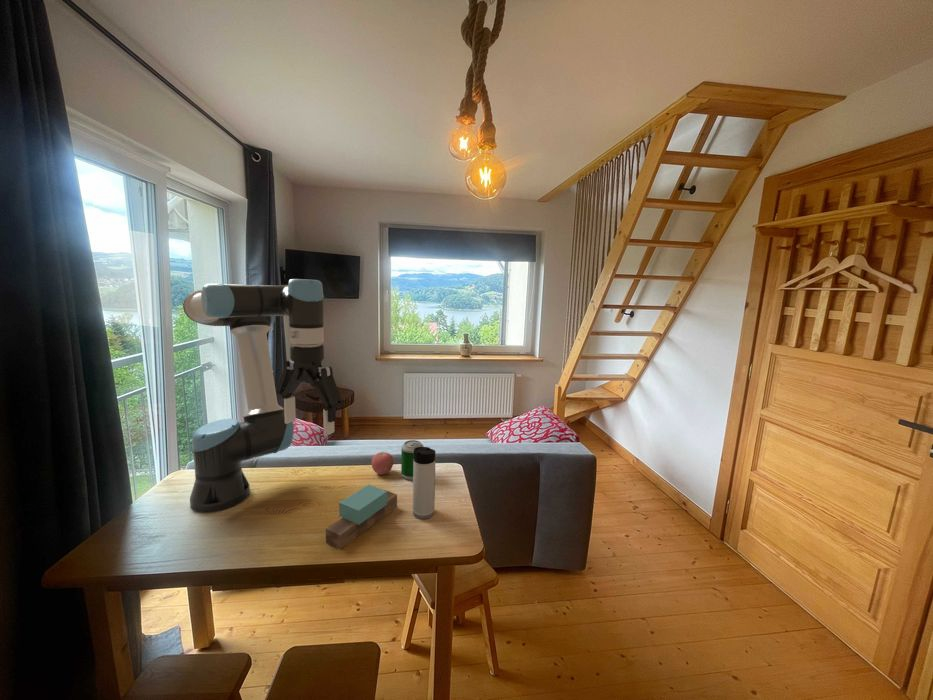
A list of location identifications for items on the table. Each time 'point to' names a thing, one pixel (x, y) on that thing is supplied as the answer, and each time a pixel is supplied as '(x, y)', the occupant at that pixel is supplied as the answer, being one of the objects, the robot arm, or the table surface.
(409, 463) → the soda can
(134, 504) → the table surface
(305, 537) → the table surface
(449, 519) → the table surface
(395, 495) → the rail
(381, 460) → the apple
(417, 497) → the travel mug
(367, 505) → the teal footed block
